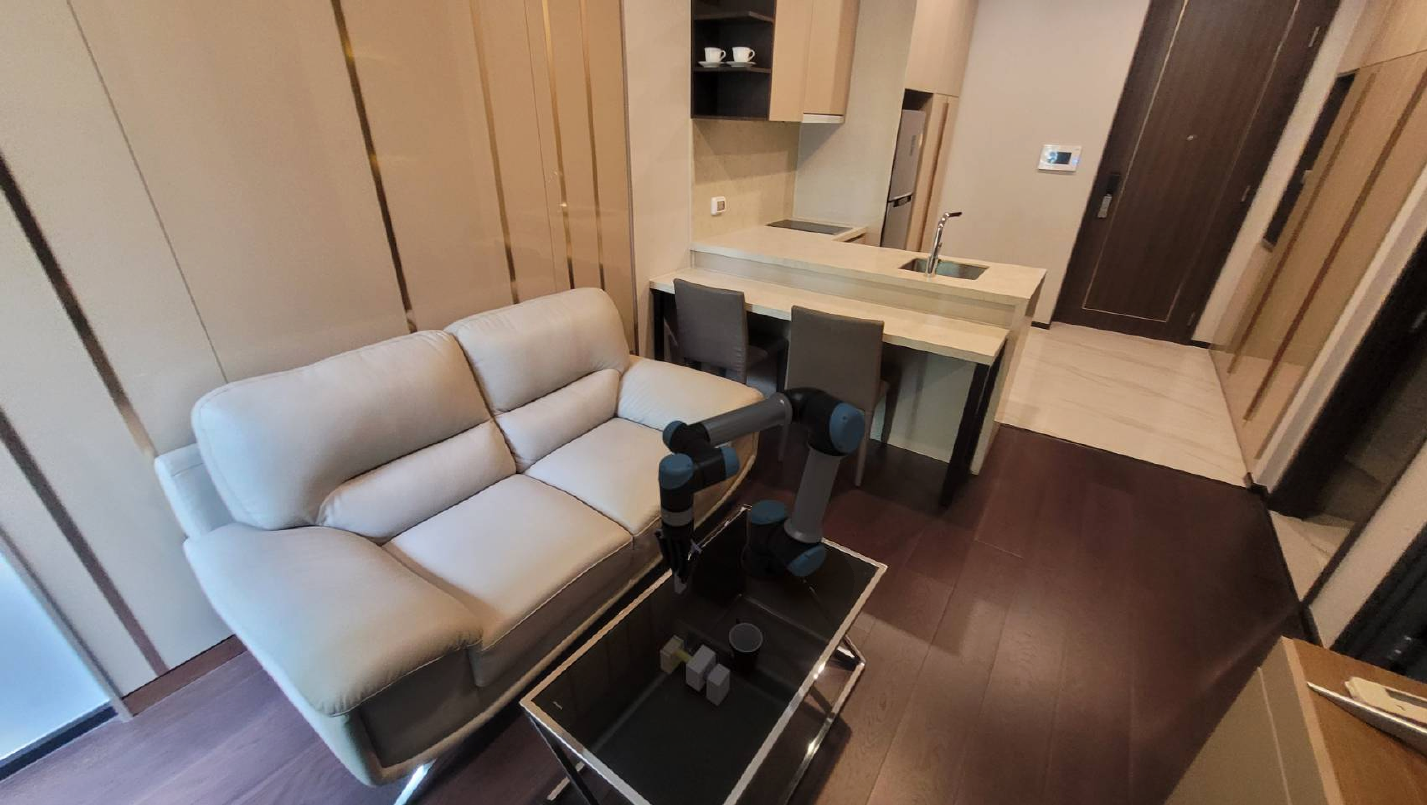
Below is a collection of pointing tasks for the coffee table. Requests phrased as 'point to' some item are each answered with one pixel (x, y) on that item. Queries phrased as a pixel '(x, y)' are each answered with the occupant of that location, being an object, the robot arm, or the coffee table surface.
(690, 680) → the sleeve
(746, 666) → the coffee mug
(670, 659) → the blocks on yellow rod
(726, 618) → the coffee table surface
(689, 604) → the coffee table surface
